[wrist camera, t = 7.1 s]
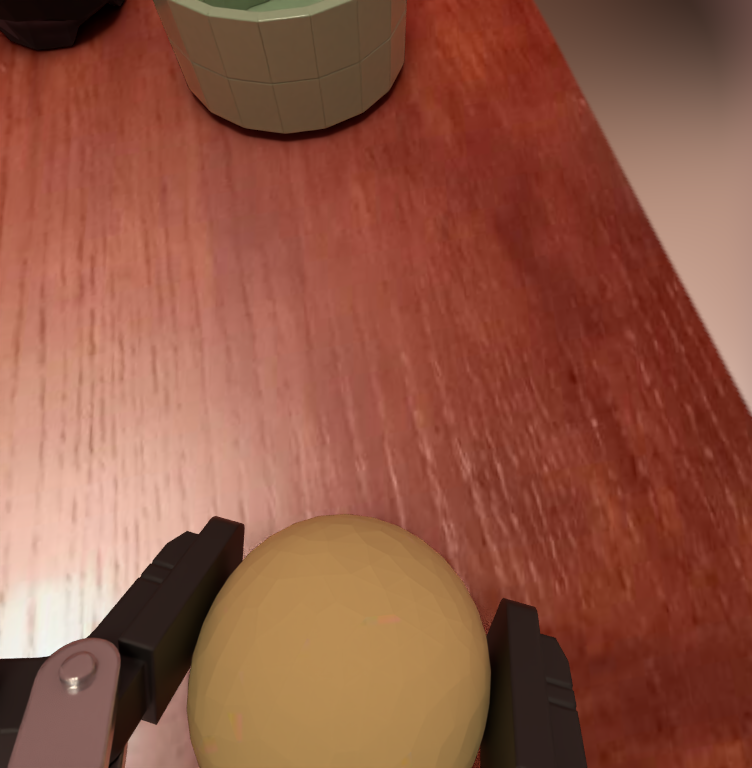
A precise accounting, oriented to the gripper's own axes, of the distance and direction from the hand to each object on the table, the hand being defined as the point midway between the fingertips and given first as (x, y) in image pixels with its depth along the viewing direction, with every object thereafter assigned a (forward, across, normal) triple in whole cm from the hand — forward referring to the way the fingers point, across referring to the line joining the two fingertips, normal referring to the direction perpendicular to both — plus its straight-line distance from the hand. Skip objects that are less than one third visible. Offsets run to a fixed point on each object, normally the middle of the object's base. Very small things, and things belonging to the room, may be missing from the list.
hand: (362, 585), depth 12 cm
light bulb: (+3, 0, +6) cm, 7 cm away
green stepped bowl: (+22, +11, -13) cm, 28 cm away
